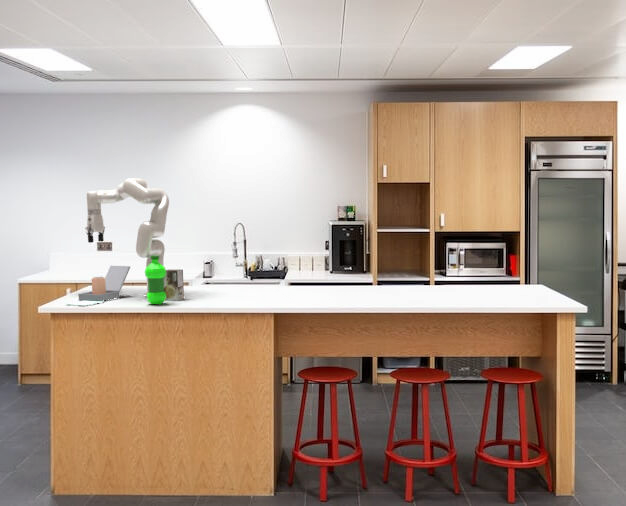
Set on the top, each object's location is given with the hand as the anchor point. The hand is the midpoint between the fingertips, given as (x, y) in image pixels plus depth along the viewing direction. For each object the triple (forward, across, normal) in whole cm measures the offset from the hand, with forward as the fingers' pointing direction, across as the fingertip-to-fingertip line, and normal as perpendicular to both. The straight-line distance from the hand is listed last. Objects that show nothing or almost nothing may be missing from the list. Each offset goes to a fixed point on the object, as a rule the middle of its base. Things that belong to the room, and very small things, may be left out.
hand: (95, 241), depth 418 cm
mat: (+30, -39, -19) cm, 53 cm away
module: (+30, -24, -18) cm, 43 cm away
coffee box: (+31, -16, -59) cm, 69 cm away
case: (+30, -20, -18) cm, 40 cm away
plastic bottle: (+31, -32, -58) cm, 73 cm away
